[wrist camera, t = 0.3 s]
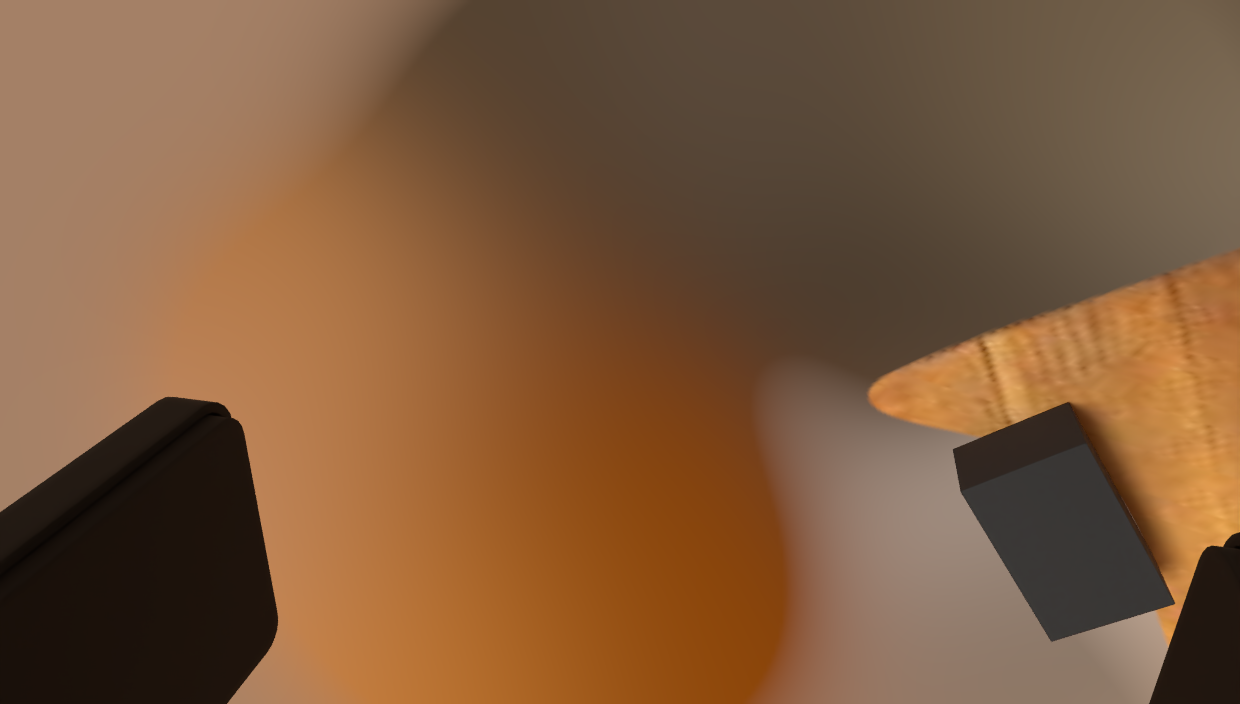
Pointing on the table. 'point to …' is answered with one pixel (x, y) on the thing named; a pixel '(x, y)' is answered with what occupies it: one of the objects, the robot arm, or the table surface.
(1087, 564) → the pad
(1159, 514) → the table surface
